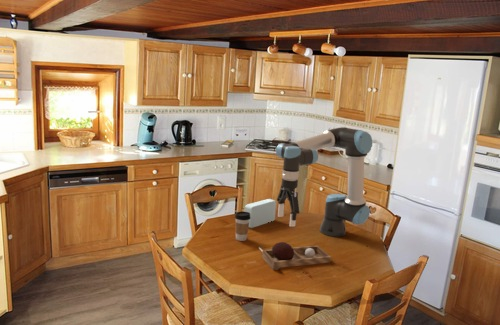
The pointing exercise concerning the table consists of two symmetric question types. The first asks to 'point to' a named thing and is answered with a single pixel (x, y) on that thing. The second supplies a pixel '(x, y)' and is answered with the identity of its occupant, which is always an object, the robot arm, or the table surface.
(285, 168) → the robot arm
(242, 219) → the coffee cup
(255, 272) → the table surface
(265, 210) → the white rounded block
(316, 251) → the divided wooden tray
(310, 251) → the ball
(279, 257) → the dark brown ovoid
